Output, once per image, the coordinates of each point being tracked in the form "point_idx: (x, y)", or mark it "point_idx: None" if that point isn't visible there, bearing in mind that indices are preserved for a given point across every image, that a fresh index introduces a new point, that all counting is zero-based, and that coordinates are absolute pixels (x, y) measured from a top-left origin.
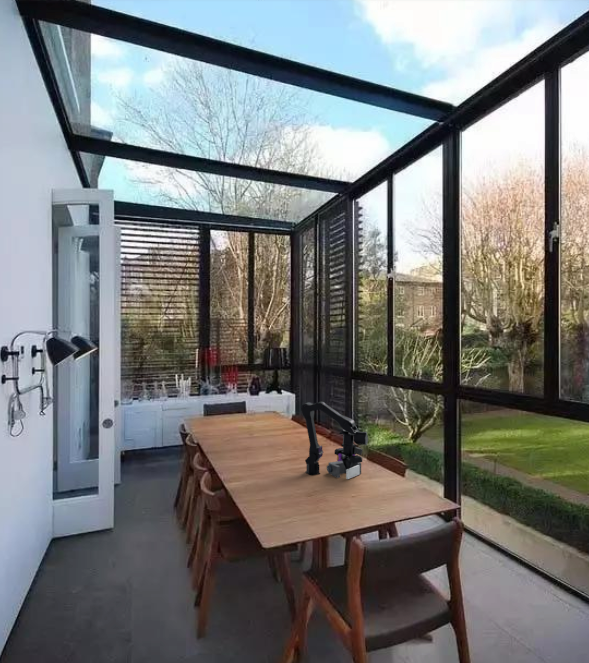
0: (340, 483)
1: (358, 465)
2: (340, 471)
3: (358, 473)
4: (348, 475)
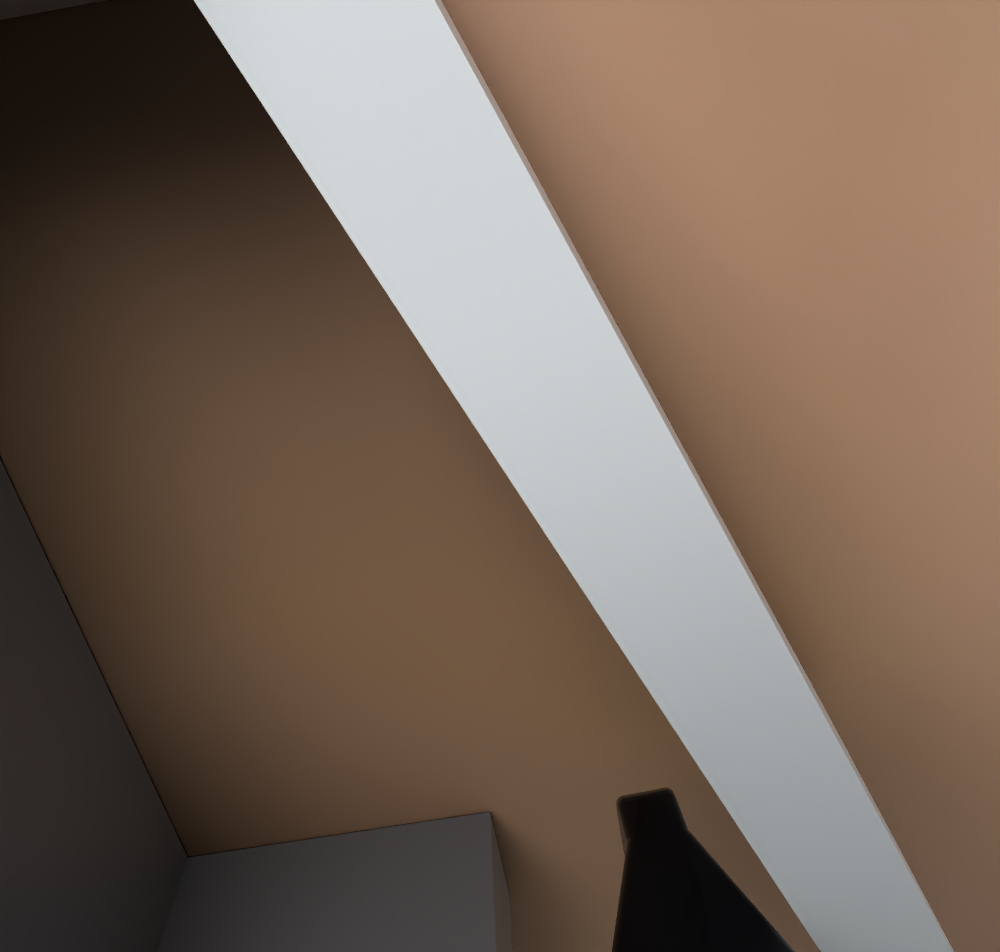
0: (960, 934)
1: (414, 44)
2: (74, 768)
3: (467, 49)
4: (863, 781)
